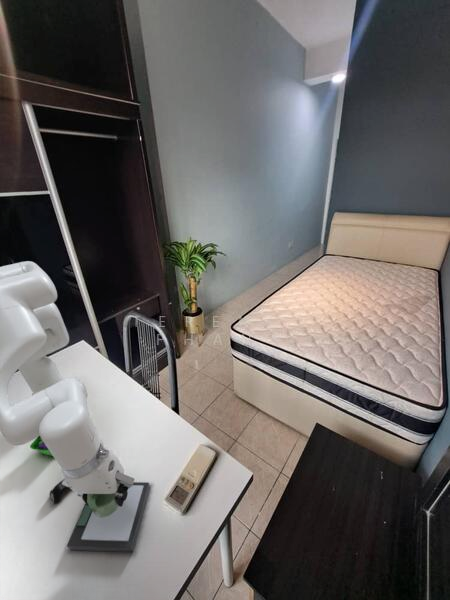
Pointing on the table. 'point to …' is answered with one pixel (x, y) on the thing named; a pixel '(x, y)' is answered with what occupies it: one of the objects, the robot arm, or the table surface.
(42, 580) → the table surface
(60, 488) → the electric trimmer
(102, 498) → the bowl
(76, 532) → the scale
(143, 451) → the table surface
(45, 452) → the fruit basket
